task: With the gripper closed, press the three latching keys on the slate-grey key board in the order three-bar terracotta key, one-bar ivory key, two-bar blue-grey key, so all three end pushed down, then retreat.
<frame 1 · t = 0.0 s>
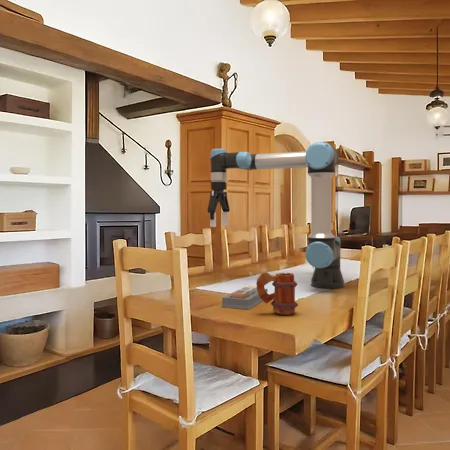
hand: (219, 226, 220), 28 cm above the table, fingers open, 13 cm apart
key 1: (251, 289, 186), point 4 cm above the table, slide at 0.0 cm
key 3: (239, 295, 175), point 4 cm above the table, slide at 0.0 cm
key 2: (245, 292, 181), point 4 cm above the table, slide at 0.0 cm
key board: (245, 302, 181), on the table
mug: (277, 314, 162), on the table
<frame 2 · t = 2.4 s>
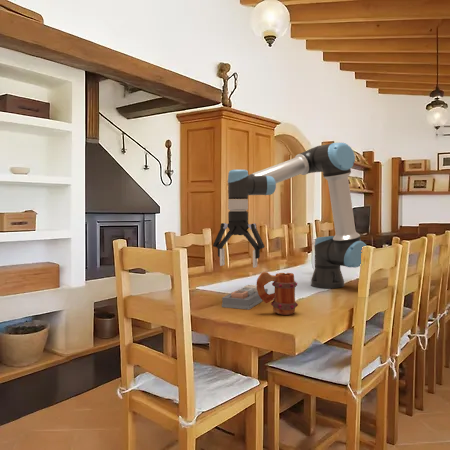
hand: (238, 266, 175), 15 cm above the table, fingers open, 13 cm apart
nothing on the table moved.
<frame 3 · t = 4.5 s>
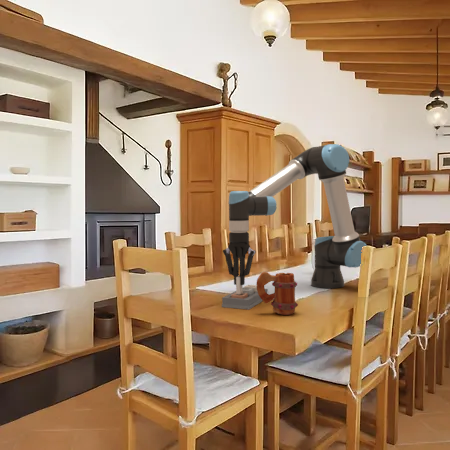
hand: (239, 293, 175), 5 cm above the table, fingers closed
key 3: (239, 297, 175), point 3 cm above the table, slide at 0.8 cm, touching gripper
everything else where it was.
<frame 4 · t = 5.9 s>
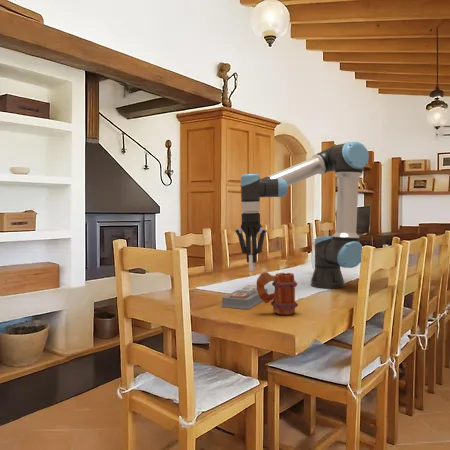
hand: (252, 270, 185), 12 cm above the table, fingers closed
key 3: (239, 297, 175), point 3 cm above the table, slide at 0.9 cm
everything else where it was.
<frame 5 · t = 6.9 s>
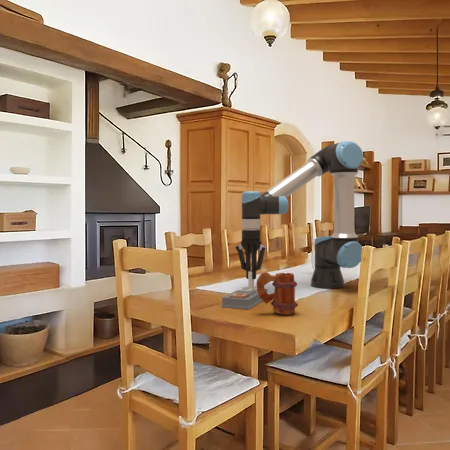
hand: (251, 287, 186), 5 cm above the table, fingers closed
key 1: (251, 290, 187), point 3 cm above the table, slide at 0.7 cm, touching gripper
everything else where it was.
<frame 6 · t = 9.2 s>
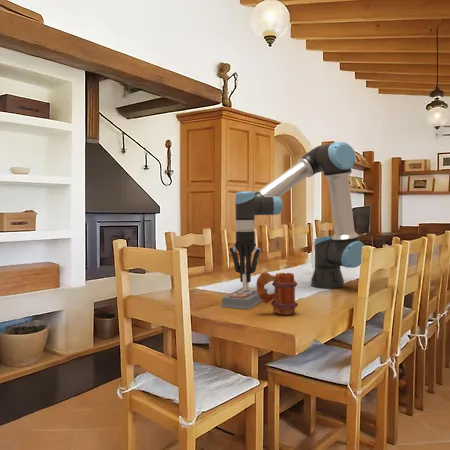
hand: (245, 290, 180), 5 cm above the table, fingers closed
key 1: (251, 291, 187), point 3 cm above the table, slide at 0.9 cm
key 2: (245, 294, 181), point 3 cm above the table, slide at 0.8 cm, touching gripper
everything else where it was.
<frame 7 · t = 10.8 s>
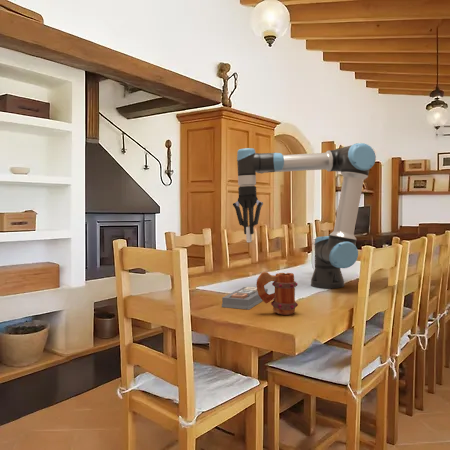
hand: (249, 242, 192), 23 cm above the table, fingers closed
key 2: (245, 294, 181), point 3 cm above the table, slide at 0.9 cm
everything else where it was.
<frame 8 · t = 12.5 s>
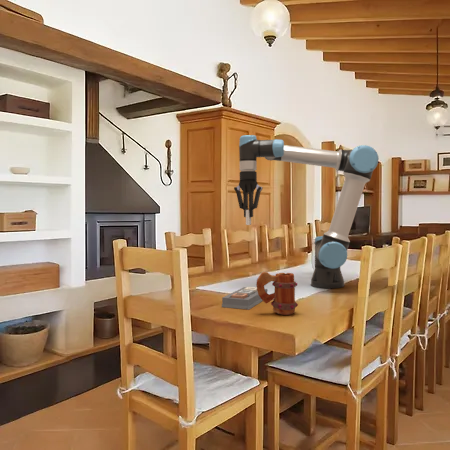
hand: (248, 224, 202), 29 cm above the table, fingers closed
nothing on the table moved.
at the end: key 3 slide at 0.9 cm; key 1 slide at 0.9 cm; key 2 slide at 0.9 cm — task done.
